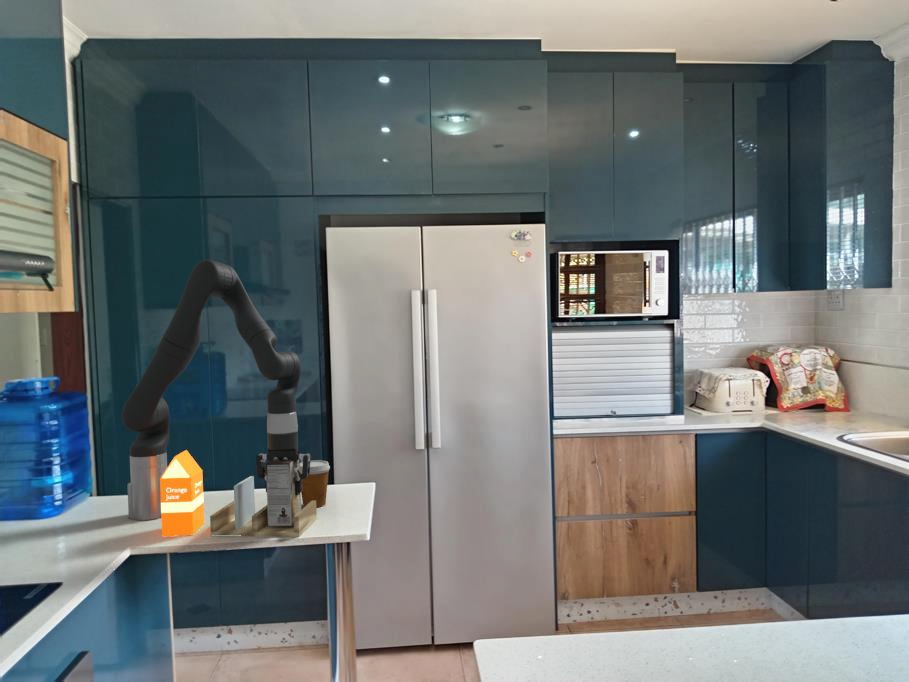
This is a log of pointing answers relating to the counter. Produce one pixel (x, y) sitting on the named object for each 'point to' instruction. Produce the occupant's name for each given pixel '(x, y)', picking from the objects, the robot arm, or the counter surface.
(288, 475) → the coffee box
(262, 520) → the rack
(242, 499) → the pale grey flat panel
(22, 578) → the counter surface
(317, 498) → the disposable coffee cup
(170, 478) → the orange juice
